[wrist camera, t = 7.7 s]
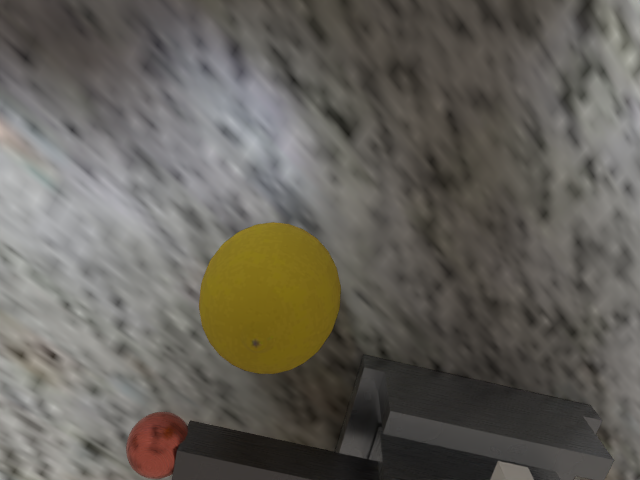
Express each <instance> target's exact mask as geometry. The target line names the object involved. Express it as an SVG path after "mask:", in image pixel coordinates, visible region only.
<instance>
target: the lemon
mask: <svg viewBox="0 0 640 480" xmlns="http://www.w3.org/2000/svg"><path fill="white" fill-rule="evenodd" d="M340 294H341V286H340V281H339V277H338V272H337V268H336V266H335V264H334V262H333V260H332V258H331V256H330V254H329V252H328V250H327V249H326V248H325V247H324V246H323V245H322V244H321V243H320V242H319V240H318V239H317V238H315V237H314V236H312V235H311V234H309V233H308V232H306V231H305V230H303V229H301V228H298V227H295V226H292V225H290V224H283V223H274V222H272V223H265V224H258V225H254V226H252V227H249V228H247V229H244V230H242V231H240V232H238V233H237V234H235V235H234V236H233V237H231V238H230V239H229V240H227V241H226V242H225V243H224V244H223V245H222V246H221V247H220V249H219V250H218V251H217V252H216V254H215V255H214V256H213V258H212V259H211V260H210V262H209V265H208V267H207V270H206V272H205V275H204V277H203V280H202V284H201V291H200V301H199V310H200V316H201V322H202V327H203V329H204V331H205V334H206V336H207V338H208V340H209V342H210V344H211V345H212V346H213V347H214V349H215V350H216V351H217V352H218V353H219V355H220V356H222V357H223V358H224V359H226V360H227V361H228V362H229V363H231V364H232V365H234V366H236V367H238V368H241V369H243V370H245V371H249V372H254V373H258V374H275V373H279V372H283V371H288V370H291V369H293V368H295V367H297V366H299V365H301V364H303V363H304V362H306V361H307V360H308V359H309V358H311V357H312V356H313V355H314V354H315V353H317V352H318V351H319V349H320V348H321V347H322V345H323V344H324V342H325V341H326V339H327V338H328V336H329V335H330V333H331V331H332V329H333V327H334V324H335V321H336V318H337V315H338V312H339V308H340Z"/></svg>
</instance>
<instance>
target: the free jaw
mask: <svg viewBox="0 0 640 480" xmlns="http://www.w3.org/2000/svg"><path fill="white" fill-rule="evenodd" d="M126 452H127V458H128V461H129V463H130V465H131V466H132V468H133V469H134V470H135V471H136V472H137V473H138V474H140V475H142V476H144V477H146V478H151V479H160V478H164V477H167V476H170V475H172V474H173V476H172V480H490V479H491V477H492V474H493V472H494V469H495V467H496V465H497V462H498V461H501V462H505V463H510V464H515V465H519V466H524V467H528V469H529V471H530V473H531V475H532V477H533V479H534V480H560V478H559V476H558V474H557V472H556V471H551V470H547V469H542V468H538V467H533V466H528V465H524V464H519V463H515V462H510V461H506V460H501V459H496V458H492V457H487V456H483V455H478V454H474V453H469V452H465V451H460V450H455V449H451V448H446V447H442V446H437V445H433V444H428V443H423V442H419V441H414V440H410V439H405V438H401V437H396V436H392V435H387V434H383V429H382V428H381V427H379V428H378V432H377V435H376V438H375V441H374V444H373V447H372V450H371V453H370V457H369V459H365V458H360V457H356V456H351V455H346V454H342V453H337V452H333V451H328V450H323V449H319V448H314V447H310V446H305V445H300V444H296V443H291V442H287V441H282V440H277V439H273V438H268V437H264V436H259V435H254V434H250V433H245V432H241V431H236V430H231V429H227V428H222V427H218V426H213V425H208V424H204V423H199V422H194V421H190V422H189V424H188V426H187V425H186V423H185V422H184V421H183V420H182V419H181V418H180V417H178V416H177V415H175V414H172V413H169V412H156V413H152V414H150V415H148V416H146V417H144V418H143V419H141V420H140V421H139V422H138V423H137V424H136V425H135V426H134V427H133V429H132V431H131V432H130V434H129V437H128V440H127V446H126Z"/></svg>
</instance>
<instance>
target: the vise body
mask: <svg viewBox="0 0 640 480" xmlns="http://www.w3.org/2000/svg"><path fill="white" fill-rule="evenodd" d="M601 422H602V419H601V418H600V417H599V415H598V414H597V413H596V412H595V410H594V409H593V408H592V406H591V405H586V404H582V403H577V402H573V401H569V400H564V399H560V398H555V397H551V396H546V395H542V394H537V393H533V392H528V391H524V390H519V389H515V388H511V387H506V386H502V385H497V384H493V383H488V382H484V381H479V380H475V379H470V378H466V377H461V376H457V375H453V374H448V373H444V372H439V371H435V370H430V369H426V368H421V367H417V366H412V365H408V364H403V363H399V362H395V361H390V360H386V359H381V358H377V357H372V356H368V355H363V358H362V361H361V365H360V368H359V372H358V375H357V378H356V382H355V385H354V389H353V392H352V395H351V399H350V402H349V406H348V409H347V413H346V416H345V419H344V423H343V426H342V430H341V433H340V436H339V440H338V443H337V447H336V450H335V452H337V453H342V454H346V455H351V456H356V457H360V458H365V459H369V457H370V453H371V450H372V447H373V444H374V441H375V438H376V435H377V432H378V428H379V427H381V428H382V429H383V434H387V435H392V436H396V437H401V438H405V439H410V440H414V441H419V442H423V443H428V444H433V445H437V446H442V447H446V448H451V449H455V450H460V451H465V452H469V453H474V454H478V455H483V456H487V457H492V458H496V459H501V460H506V461H510V462H515V463H519V464H524V465H528V466H533V467H538V468H542V469H547V470H551V471H556V472H557V474H558V476H559V478H560V480H574V478H575V476H579V477H583V478H588V479H592V480H605V478H606V476H607V474H608V472H609V470H610V468H611V466H612V464H613V462H614V459H613V458H612V456H611V455H610V454H609V452H608V451H607V449H606V448H605V447H604V445H603V444H602V442H601V441H600V440H599V438H598V437H597V435H596V433H597V431H598V429H599V427H600V425H601Z"/></svg>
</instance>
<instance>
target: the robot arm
mask: <svg viewBox="0 0 640 480" xmlns="http://www.w3.org/2000/svg"><path fill="white" fill-rule="evenodd" d="M490 480H534V479H533V477H532V475H531V473H530V471H529V469H528V467H524V466H519V465H515V464H510V463H505V462H501V461H498V462H497V465H496V467H495V469H494V472H493V474H492V477H491V479H490Z"/></svg>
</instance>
